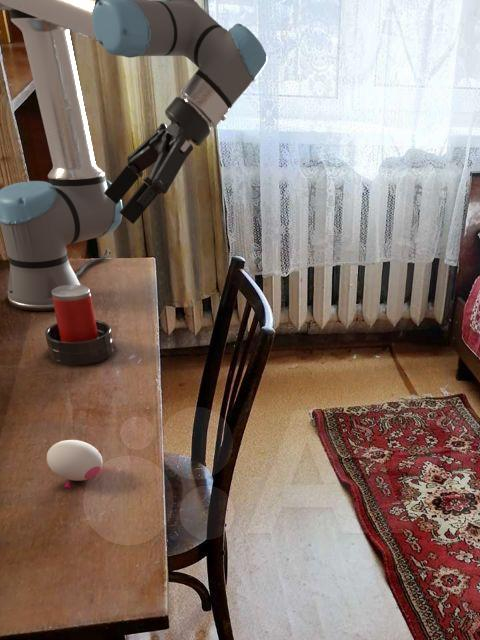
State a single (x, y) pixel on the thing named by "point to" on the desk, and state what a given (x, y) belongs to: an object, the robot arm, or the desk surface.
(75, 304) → the tomato can
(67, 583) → the desk surface
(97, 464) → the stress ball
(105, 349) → the skillet
